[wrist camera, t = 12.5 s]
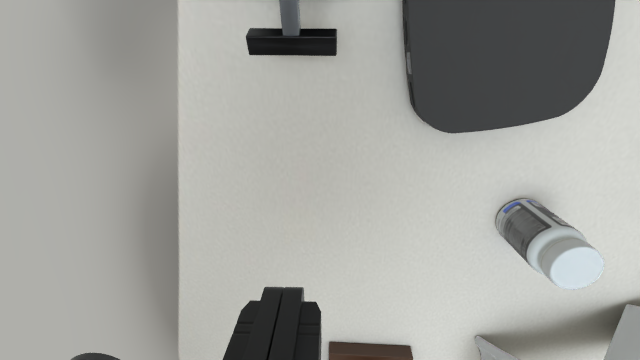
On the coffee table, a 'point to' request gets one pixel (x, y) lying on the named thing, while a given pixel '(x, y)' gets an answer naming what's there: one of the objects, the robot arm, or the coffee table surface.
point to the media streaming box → (502, 59)
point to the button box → (368, 352)
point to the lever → (291, 36)
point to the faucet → (624, 350)
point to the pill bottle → (549, 244)
